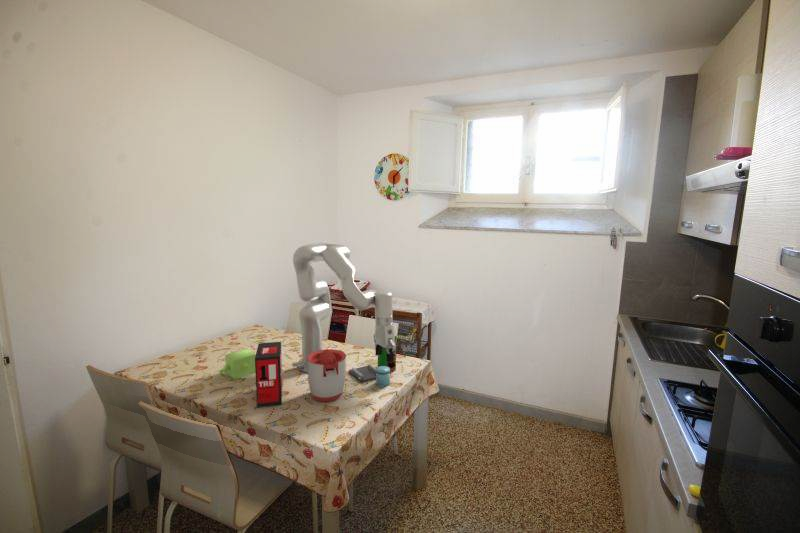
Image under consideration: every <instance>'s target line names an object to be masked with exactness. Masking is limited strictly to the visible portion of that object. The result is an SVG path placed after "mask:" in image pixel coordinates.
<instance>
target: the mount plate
mask: <svg viewBox="0 0 800 533" xmlns="http://www.w3.org/2000/svg"><path fill="white" fill-rule="evenodd" d="M376 368H377V367H374V366H373V365H372V364H370V363H367V365H365V366H360V367H351V369H348V373H349V374H350V375H351V376H353V377H354V378H355V379H356V380H357V381H358V382H359V383H360V384H362V383H366V382H369V381H374V380H375V381H376Z"/></svg>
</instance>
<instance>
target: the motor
mask: <svg viewBox="0 0 800 533" xmlns="http://www.w3.org/2000/svg"><path fill="white" fill-rule="evenodd" d="M394 336H395V345H396V347H395V351H394V361H393V362H389V363H387V350H386V348H384V347H382V354H381V355H377V366H376V368H377V367H379V366H387V367H389V368H390V374H391V373H394V371H395V372H396V370H397V339H398V337H397V335H394ZM388 346H390V345H388ZM388 349H389V350H390V349H391V348H388Z"/></svg>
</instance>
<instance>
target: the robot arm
mask: <svg viewBox="0 0 800 533" xmlns="http://www.w3.org/2000/svg"><path fill="white" fill-rule="evenodd" d="M350 258H351V252H350V249H349V248H348V247H347V246H345V245H343V244H334V243H323V242H321V243H311V244H304V245H302V246H299V247H297V249H296V250H295V251H294V254H293V256H292V263H293V267H294V271H295V276H296V281H297V289H298V296H299V298H300V300H301V301H303V302H311V301H314V302H311V303H309V304H306V305H304V306H303V307H302V308H301V309H300V310H299V312H298V317H299V321H300V322H299V323H300V328H301V355H302V357H301V358H300V360H298V361H296V362H291V363H292V364H291V365H292V367H293V368H295V367H296V368H298V369H299V370H300V371H301V372H303V373H307V374H308V360H307V357H308V355H309V354H311V353H313V352H315V351H319V350H323V330H322V327H321V324H320V323H321V321H324V320H326V319H328V318H329V317H330V316H331V314H332V312H333V308H332V299H331V292H330V287H329V285H328V283H327V281H325V279H322V278H316V273H315V270H314V267H313V266H312V265H311V263H312V264H313V263H318V262H324V263H325V264H327V266H328V267H329V268H330V270H331V271H332V272H333V273H334V274H335V275H336V277H337V278H338V279H339V281H340V285H341V287H340V288H341V290H342V293H343V296H344V297H345V298H346V300H347V301H348V302H349V304H351V305H352V306H353V308H355V310H358V311H364V310H367V309H370V308H372V307H374V318H375V319H374V321H375V322H374V324H375V327H374V328H375V329H374V334H373V339H374V340H373V342H374V346H375V356H378V355H381V354H382V347H384V348H386V350H387V363H389V362H393V361H394V351H395V347H396V348H397V344H396V345H395V336H396V335H395V328H394V325H393V323H394V322H393V318H394V317H393V293H392V292H390V291H386V290H384V291H380V290H377V289H371V288H369V289H366V290H364V291H361V290H360V289H359V287H358V286H357V284H356V283H355V281H354V279H355V274H356V271H357V270H356V268H355V266H354V264H352V262H350V260H349V259H350ZM388 345H390V346H388ZM388 348H391V349H390V350H389V349H388Z"/></svg>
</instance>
